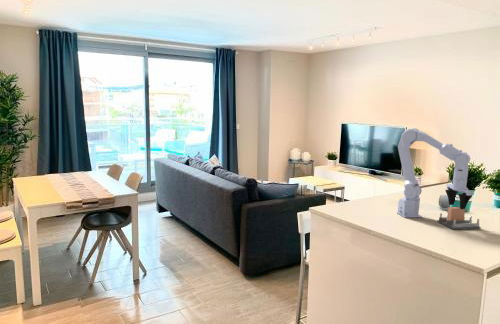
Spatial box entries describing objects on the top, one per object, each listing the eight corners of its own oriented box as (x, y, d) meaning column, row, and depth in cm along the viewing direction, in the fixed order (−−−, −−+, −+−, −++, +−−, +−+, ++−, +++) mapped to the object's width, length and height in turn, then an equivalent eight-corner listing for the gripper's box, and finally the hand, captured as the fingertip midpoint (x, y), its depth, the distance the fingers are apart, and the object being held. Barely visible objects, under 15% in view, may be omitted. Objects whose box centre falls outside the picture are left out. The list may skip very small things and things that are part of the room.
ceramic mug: (440, 205, 214) (442, 192, 213) (456, 208, 209) (458, 194, 207) (435, 209, 206) (437, 195, 204) (452, 212, 201) (454, 198, 199)
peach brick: (450, 222, 178) (451, 208, 177) (446, 221, 181) (448, 207, 180) (463, 222, 179) (465, 208, 178) (460, 221, 182) (461, 206, 181)
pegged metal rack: (452, 229, 171) (454, 220, 171) (437, 222, 182) (438, 213, 182) (480, 229, 174) (481, 219, 173) (463, 221, 184) (464, 212, 184)
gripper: (479, 181, 170) (475, 210, 173) (457, 175, 185) (454, 202, 187) (465, 181, 169) (461, 211, 171) (444, 175, 183) (441, 202, 186)
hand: (456, 206), depth 179 cm, fingers open, 7 cm apart
